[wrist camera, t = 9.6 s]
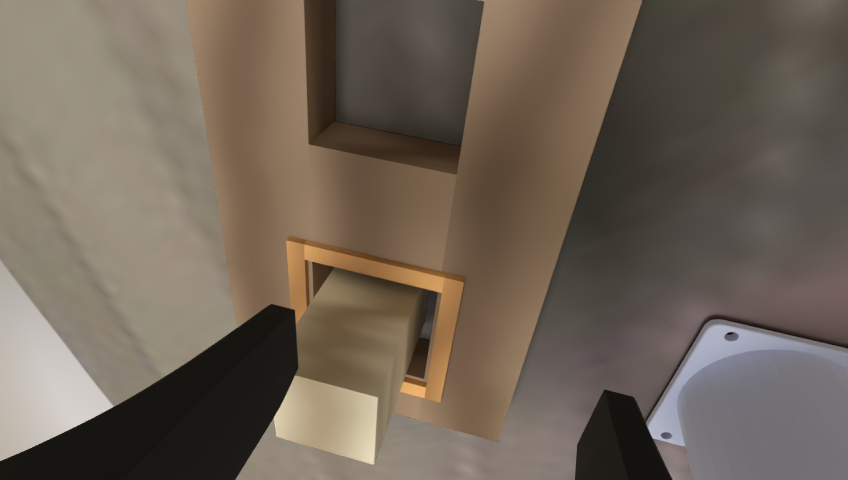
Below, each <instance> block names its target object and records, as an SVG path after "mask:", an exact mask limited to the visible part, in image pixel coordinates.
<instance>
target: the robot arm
mask: <svg viewBox="0 0 848 480" xmlns="http://www.w3.org/2000/svg"><path fill="white" fill-rule="evenodd" d="M729 332H735V333H734V334H731V335H725V334H727V333H729ZM298 368H299V367H298V351H297V335H296V318H295V310H294V309H290V308H286V307H282V306H278V305H274V304H270V305H268V306H267V307H265V308H264V309H263V310H261V311H260V312H258V313H257V314H256V315H254V316H253V317H251V318H250V319H249V320H247V321H246V322H245V323H243V324H242V325H240V326H239V327H238V328H236V329H235V330H233V331H232V332H231V333H229V334H228V335H226V336H225V337H224V338H222V339H221V340H219V341H218V342H217V343H215V344H214V345H212V346H211V347H209V348H208V349H206V350H205V351H203V352H202V353H200V354H199V355H198V356H196V357H195V358H193V359H192V360H190V361H189V362H187V363H186V364H184V365H183V366H181V367H180V368H178V369H176V370H175V371H173V372H172V373H170V374H168V375H167V376H165V377H164V378H162V379H160V380H159V381H157V382H156V383H154V384H152V385H151V386H149V387H148V388H146V389H144V390H143V391H141V392H139V393H138V394H136V395H134V396H132V397H131V398H129V399H127V400H125V401H124V402H122V403H120V404H118V405H116V406H115V407H113V408H111V409H109V410H107V411H105V412H104V413H102V414H100V415H98V416H96V417H94V418H92V419H91V420H88V421H86V422H84V423H82V424H80V425H78V426H76V427H74V428H72V429H70V430H68V431H66V432H64V433H62V434H60V435H58V436H56V437H53V438H51V439H49V440H47V441H45V442H43V443H41V444H39V445H36V446H34V447H32V448H30V449H28V450H26V451H23V452H21V453H19V454H16V455H14V456H12V457H9V458H7V459H4V460H2V461H0V480H235V479H236V477H237V476H238V474H239V473H240V471H241V469H242V468H243V466H244V465H245V463H246V461H247V460H248V458H249V457H250V455H251V453H252V452H253V450H254V449H255V447H256V445H257V444H258V442H259V441H260V439H261V437H262V436H263V434H264V433H265V431H266V429H267V428H268V426H269V424H270V423H271V421H272V420H273V418H274V416H275V415H276V413H277V411H278V410H279V408H280V406H281V404H282V402H283V400H284V398H285V396H286V394H287V392H288V390H289V388H290V386H291V383H292V381H293V379H294V377H295V375H296V372H297V370H298ZM653 438H654V439H657V440H661V441H665V442H668V443H672V444H676V445H680V446H683V447H685V449H686V453H687V458H688V462H689V467H690V471H691V476H692V480H848V349H847V348H843V347H839V346H834V345H830V344H826V343H821V342H817V341H813V340H808V339H804V338H800V337H795V336H791V335H787V334H782V333H778V332H774V331H769V330H765V329H761V328H756V327H752V326H748V325H743V324H739V323H735V322H730V321H726V320H721V319H715V320H711V321H709V322H707V323H706V324H705V325H704V327H703V328H702V330H701V332H700V333H699V335H698V337H697V338H696V340H695V342H694V343H693V345H692V347H691V348H690V350H689V352H688V353H687V355H686V357H685V358H684V360H683V362H682V363H681V365H680V367H679V368H678V370H677V372H676V373H675V375H674V377H673V378H672V380H671V382H670V383H669V385H668V387H667V388H666V390H665V392H664V393H663V395H662V397H661V398H660V400H659V402H658V403H657V405H656V407H655V408H654V410H653V412H652V413H651V415H650V417H649V418H648V420H647V422H645V420H644V418H643V416H642V413H641V411H640V409H639V407H638V404H637V402H636V400H635V399H634V397H631V396H628V395H624V394H620V393H616V392H612V391H608V390H604V391H603V393H602V395H601V397H600V399H599V401H598V403H597V405H596V407H595V409H594V411H593V414H592V416H591V418H590V420H589V422H588V424H587V426H586V428H585V430H584V432H583V434H582V436H581V438H580V440H579V442H578V444H577V457H576V473H575V480H672V478H671V476H670V474H669V472H668V470H667V468H666V466H665V463H664V461H663V459H662V457H661V455H660V453H659V451H658V449H657V447H656V444H655V442H654V440H653Z"/></svg>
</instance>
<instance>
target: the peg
mask: <svg viewBox="0 0 848 480" xmlns="http://www.w3.org/2000/svg"><path fill="white" fill-rule="evenodd" d="M427 296H428V289H424V288H419V287H415V286H411V285H407V284H403V283H399V282H395V281H390V280H386V279H382V278H378V277H374V276H370V275H366V274H362V273H357V272H353V271H349V270H345V269H341V268H337V267H334V268H333V270H332V271H331V273H330V274H329V276H328V277H327V279H326V280H325V282H324V283H323V285H322V286H321V288H320V289H319V291H318V292H317V294H316V295H315V297H314V298H313V300H312V301H311V303H310V304H309V306H308V307H307V309H306V310H305V312H304V313H303V315H302V316H301V318H300V319H299V321H298V322H297V324H296V335H297V351H298V367H299V368H298V370H297V372H296V375H295V377H294V379H293V381H292V383H291V386H290V388H289V390H288V392H287V394H286V396H285V398H284V400H283V402H282V404H281V406H280V408H279V410H278V411H277V413H276V415H275V416H274V422H275V429H276V436H277V437H280V438H283V439H287V440H290V441H293V442H297V443H300V444H304V445H307V446H311V447H314V448H318V449H321V450H325V451H328V452H332V453H335V454H338V455H342V456H345V457H349V458H352V459H356V460H359V461H363V462H366V463H370V464H373V465H374V463H375V460H376V458H377V455H378V452H379V449H380V446H381V443H382V441H383V438H384V435H385V432H386V429H387V426H388V424H389V421H390V418H391V415H392V412H393V410H394V407H395V404H396V401H397V398H398V395H399V393H400V390H401V387H402V384H403V381H404V378H405V376H406V373H407V370H408V367H409V364H410V361H411V359H412V356H413V353H414V350H415V347H416V344H417V342H418V339H419V336H420V333H421V330H422V328H423V325H424V320H425V312H426V304H427Z"/></svg>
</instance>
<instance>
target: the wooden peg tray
mask: <svg viewBox="0 0 848 480" xmlns="http://www.w3.org/2000/svg"><path fill="white" fill-rule="evenodd" d="M479 1H485V2H484V8H483V14H482V21H481V27H480V33H479V39H478V45H477V52H476V58H475V64H474V70H473V77H472V83H471V89H470V95H469V102H468V108H467V114H466V120H465V127H464V133H463V139H462V145H461V146H456V145H451V144H446V143H441V142H436V141H431V140H426V139H421V138H416V137H411V136H405V135H400V134H395V133H390V132H385V131H380V130H375V129H370V128H365V127H360V126H355V125H350V124H345V123H340V122H335V0H186V3H187V9H188V16H189V22H190V29H191V35H192V41H193V48H194V54H195V60H196V67H197V73H198V79H199V86H200V92H201V99H202V105H203V111H204V118H205V124H206V130H207V137H208V143H209V149H210V156H211V162H212V169H213V175H214V181H215V188H216V194H217V200H218V207H219V213H220V220H221V226H222V232H223V239H224V245H225V251H226V258H227V264H228V270H229V277H230V283H231V290H232V296H233V302H234V309H235V315H236V321H237V328H238V327H239V326H240V325H242V324H243V323H245V322H246V321H247V320H249V319H250V318H251V317H253V316H254V315H256V314H257V313H258V312H260V311H261V310H263V309H264V308H265V307H267V306H268V305H270V304H274V305H278V306H282V307H286V308H290V309H294V310H295V318H296V324H297V322H298V321H299V319H300V318H301V316H302V315H303V313H304V312H305V310H306V309H307V307H308V306H309V304H310V303H311V301H312V300H313V298H314V297H315V295H316V294H317V292H318V291H319V289H320V288H321V286H322V285H323V283H324V282H325V280H326V279H327V277H328V276H329V274H330V273H331V271H332V270H333V268H334V267H337V268H341V269H345V270H349V271H353V272H357V273H362V274H366V275H370V276H374V277H378V278H382V279H386V280H390V281H395V282H399V283H403V284H407V285H411V286H415V287H419V288H424V289H428V290H432V291H436V292H438V295H437V301H436V308H435V314H434V320H433V326H432V332H431V339H430V341H428V340H424V339H420V338H419V339H418V342H417V344H416V347H415V350H414V353H413V356H412V359H411V361H410V364H409V367H408V370H407V373H406V376H405V378H404V381H403V384H402V387H401V390H400V393H399V395H398V398H397V401H396V404H395V407H394V410H393V412H392V413H396V414H400V415H403V416H407V417H410V418H414V419H417V420H421V421H425V422H428V423H432V424H435V425H439V426H442V427H446V428H449V429H453V430H457V431H460V432H464V433H467V434H471V435H474V436H478V437H482V438H485V439H489V440H492V441H496V442H498V439H499V436H500V433H501V430H502V427H503V424H504V421H505V418H506V415H507V412H508V409H509V406H510V403H511V399H512V396H513V393H514V390H515V387H516V384H517V381H518V378H519V375H520V372H521V369H522V366H523V363H524V360H525V357H526V354H527V351H528V348H529V345H530V342H531V338H532V335H533V332H534V329H535V326H536V323H537V320H538V317H539V314H540V311H541V308H542V305H543V302H544V299H545V296H546V293H547V290H548V287H549V284H550V280H551V277H552V274H553V271H554V268H555V265H556V262H557V259H558V256H559V253H560V250H561V247H562V244H563V241H564V238H565V235H566V232H567V229H568V226H569V223H570V219H571V216H572V213H573V210H574V207H575V204H576V201H577V198H578V195H579V192H580V189H581V186H582V183H583V180H584V177H585V174H586V171H587V168H588V165H589V161H590V158H591V155H592V152H593V149H594V146H595V143H596V140H597V137H598V134H599V131H600V128H601V125H602V122H603V119H604V116H605V113H606V110H607V107H608V104H609V100H610V97H611V94H612V91H613V88H614V85H615V82H616V79H617V76H618V73H619V70H620V67H621V64H622V61H623V58H624V55H625V52H626V49H627V46H628V42H629V39H630V36H631V33H632V30H633V27H634V24H635V21H636V18H637V15H638V12H639V9H640V6H641V3H642V0H479Z"/></svg>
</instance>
